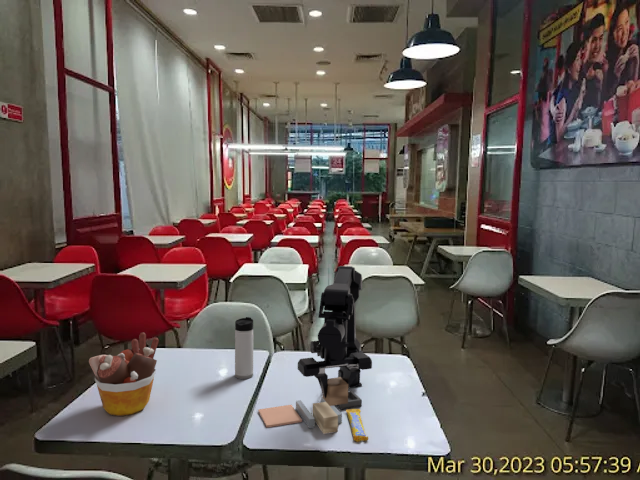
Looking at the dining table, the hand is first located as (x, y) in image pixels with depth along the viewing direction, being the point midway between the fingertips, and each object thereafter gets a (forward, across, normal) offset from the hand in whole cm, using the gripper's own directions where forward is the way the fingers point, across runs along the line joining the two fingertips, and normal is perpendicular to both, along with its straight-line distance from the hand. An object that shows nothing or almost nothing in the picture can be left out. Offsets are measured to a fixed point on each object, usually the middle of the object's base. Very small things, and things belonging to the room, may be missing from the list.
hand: (334, 395), depth 118 cm
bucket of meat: (+11, +51, -35) cm, 63 cm away
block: (+1, 0, 0) cm, 1 cm away
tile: (+11, +10, -15) cm, 21 cm away
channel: (+11, 0, -12) cm, 16 cm away
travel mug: (+11, +14, -48) cm, 51 cm away
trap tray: (+11, -11, -17) cm, 23 cm away
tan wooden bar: (+11, 0, -6) cm, 13 cm away
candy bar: (+12, -8, -3) cm, 14 cm away
